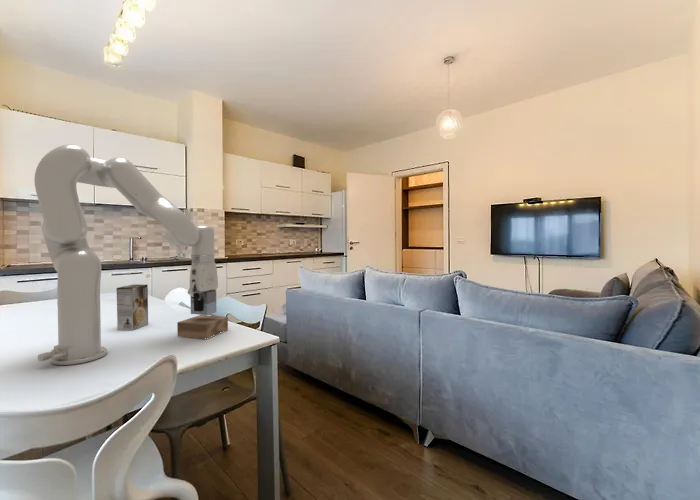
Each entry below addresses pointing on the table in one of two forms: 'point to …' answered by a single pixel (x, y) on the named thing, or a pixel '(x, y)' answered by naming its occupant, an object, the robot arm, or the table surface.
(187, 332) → the walnut stand
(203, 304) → the block
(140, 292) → the coffee box
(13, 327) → the table surface
